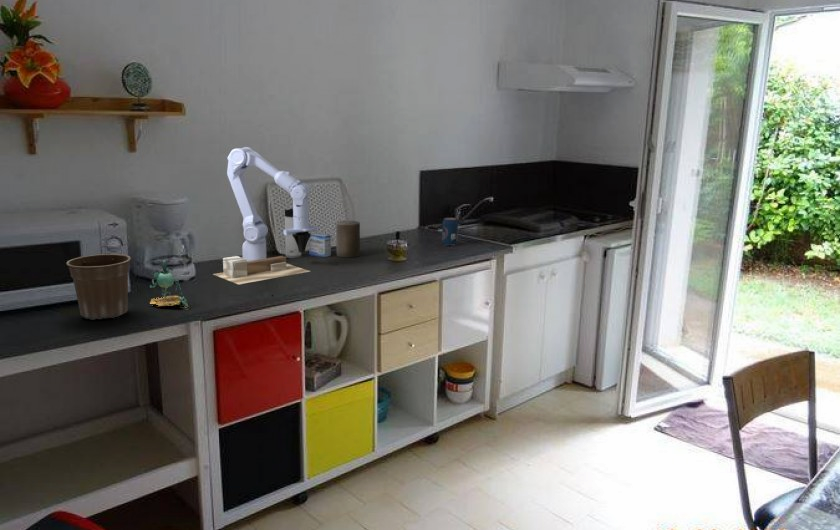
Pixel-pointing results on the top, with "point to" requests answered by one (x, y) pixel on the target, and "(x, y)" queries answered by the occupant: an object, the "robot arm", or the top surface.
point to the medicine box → (320, 245)
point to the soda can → (449, 231)
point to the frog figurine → (165, 281)
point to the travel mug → (290, 237)
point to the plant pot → (101, 284)
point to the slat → (263, 264)
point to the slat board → (238, 273)
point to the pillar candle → (348, 239)
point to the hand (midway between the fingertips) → (301, 252)
